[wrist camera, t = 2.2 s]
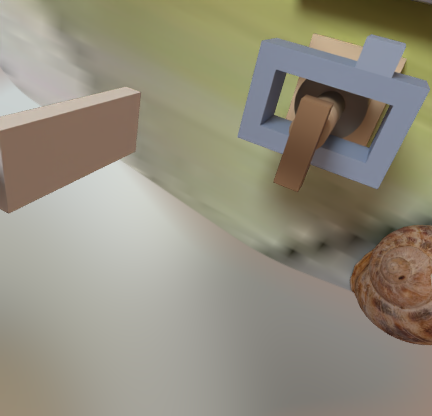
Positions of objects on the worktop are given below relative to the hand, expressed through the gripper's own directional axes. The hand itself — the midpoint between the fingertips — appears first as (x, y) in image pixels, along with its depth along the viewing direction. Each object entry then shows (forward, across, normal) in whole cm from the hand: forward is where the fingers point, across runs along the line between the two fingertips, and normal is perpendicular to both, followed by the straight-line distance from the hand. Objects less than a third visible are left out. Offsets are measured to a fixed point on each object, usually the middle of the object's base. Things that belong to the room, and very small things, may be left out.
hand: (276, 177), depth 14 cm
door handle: (+19, 0, 0) cm, 19 cm away
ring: (+13, 0, 0) cm, 13 cm away
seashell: (+20, +11, -12) cm, 26 cm away
